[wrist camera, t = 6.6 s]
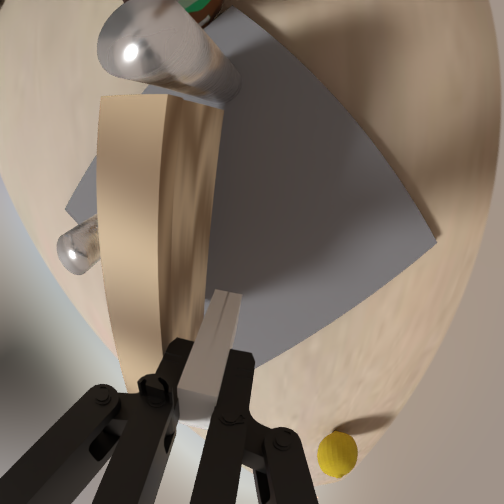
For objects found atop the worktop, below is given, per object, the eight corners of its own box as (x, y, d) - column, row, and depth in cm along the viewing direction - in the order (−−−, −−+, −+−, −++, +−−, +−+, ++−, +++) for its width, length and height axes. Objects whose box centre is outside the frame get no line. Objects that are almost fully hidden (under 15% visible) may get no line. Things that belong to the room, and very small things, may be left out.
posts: (128, 204, 22) (17, 282, 10) (217, 59, 17) (133, -16, 5) (155, 224, 23) (58, 318, 11) (251, 79, 17) (206, 10, 6)
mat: (71, 206, 23) (64, 209, 22) (234, 10, 15) (232, 5, 14) (247, 366, 29) (246, 373, 28) (432, 238, 21) (437, 242, 20)
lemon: (309, 430, 34) (310, 478, 26) (345, 417, 32) (351, 467, 25) (326, 442, 35) (328, 486, 28) (359, 430, 33) (365, 476, 26)
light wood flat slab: (192, 107, 16) (100, 96, 7) (228, 110, 16) (167, 94, 7) (179, 312, 23) (133, 410, 14) (207, 318, 23) (171, 421, 14)
